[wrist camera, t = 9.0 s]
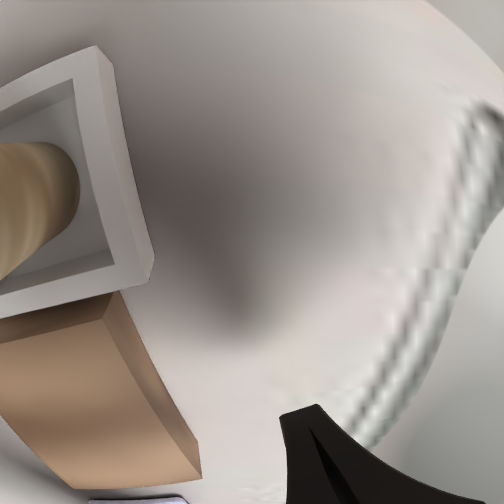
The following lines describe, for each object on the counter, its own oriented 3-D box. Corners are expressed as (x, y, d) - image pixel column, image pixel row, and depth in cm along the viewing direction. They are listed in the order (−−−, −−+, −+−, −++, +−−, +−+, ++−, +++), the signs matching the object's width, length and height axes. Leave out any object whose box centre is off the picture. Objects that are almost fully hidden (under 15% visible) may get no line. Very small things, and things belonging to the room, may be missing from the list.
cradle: (155, 256, 11) (148, 282, 9) (7, 295, 10) (-19, 322, 8) (113, 65, 9) (95, 44, 6) (-36, 134, 8) (-71, 136, 5)
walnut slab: (197, 436, 15) (202, 478, 12) (80, 452, 14) (73, 488, 11) (119, 280, 12) (102, 318, 9) (-14, 320, 11) (-43, 353, 8)
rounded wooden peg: (89, 228, 10) (26, 288, 5) (14, 246, 9) (-61, 305, 5) (71, 130, 9) (-10, 123, 4) (-4, 158, 8) (-94, 175, 3)
